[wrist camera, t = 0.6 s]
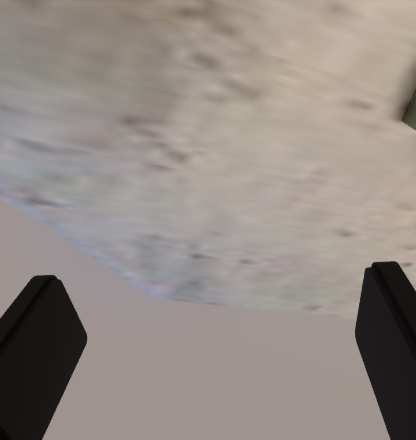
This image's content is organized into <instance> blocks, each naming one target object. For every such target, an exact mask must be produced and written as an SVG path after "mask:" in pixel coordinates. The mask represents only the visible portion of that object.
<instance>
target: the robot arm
mask: <svg viewBox="0 0 416 440" xmlns="http://www.w3.org/2000/svg"><path fill="white" fill-rule="evenodd" d="M355 337H356V342H357V345H358V348H359V351H360V353H361V356H362V359H363V362H364V365H365V368H366V371H367V374H368V376H369V379H370V382H371V385H372V388H373V391H374V394H375V396H376V399H377V402H378V405H379V408H380V411H381V413H382V416H383V419H384V422H385V425H386V428H387V431H388V434H389V436H390V439H391V440H416V291H415V289H414V288H413V286H412V285H411V283H410V281H409V280H408V278H407V277H406V275H405V273H404V272H403V270H402V269H401V267H400V265H399V264H398V263H397V262H395V261H390V262H373V264H372V266H371V267H369V268H366V269H365V273H364V279H363V285H362V291H361V297H360V303H359V309H358V315H357V322H356V328H355ZM86 343H87V334H86V331H85V329H84V327H83V325H82V323H81V321H80V319H79V317H78V315H77V312H76V310H75V308H74V306H73V304H72V302H71V300H70V298H69V296H68V294H67V292H66V289H65V287H64V285H63V283H62V281H61V280H59V279H57V277H56V276H54V275H43V276H34V277H33V278H32V279H31V280H30V281H29V282H28V284H27V285H26V286H25V288H24V289H23V290H22V291H21V293H20V294H19V295H18V296H17V298H16V299H15V300H14V302H13V303H12V304H11V305H10V307H9V308H8V309H7V311H6V312H5V313H4V315H3V316H2V317H1V318H0V440H42V439H43V436H44V434H45V432H46V430H47V428H48V426H49V423H50V421H51V419H52V417H53V415H54V413H55V410H56V408H57V406H58V404H59V402H60V400H61V397H62V395H63V393H64V391H65V389H66V386H67V385H68V382H69V380H70V378H71V375H72V374H73V371H74V369H75V367H76V365H77V363H78V361H79V359H80V357H81V354H82V352H83V350H84V348H85V346H86Z"/></svg>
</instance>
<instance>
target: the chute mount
mask: <svg viewBox="0 0 416 440" xmlns="http://www.w3.org/2000/svg"><path fill="white" fill-rule="evenodd" d="M402 122H404V123H405V124H407V125H408V126H410V127H411V128H413V129H415V130H416V90H415V93H414V95H413V97H412V99H411V102H410V104H409V106H408V108H407V111H406V113H405V115H404V117H403V120H402Z"/></svg>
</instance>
